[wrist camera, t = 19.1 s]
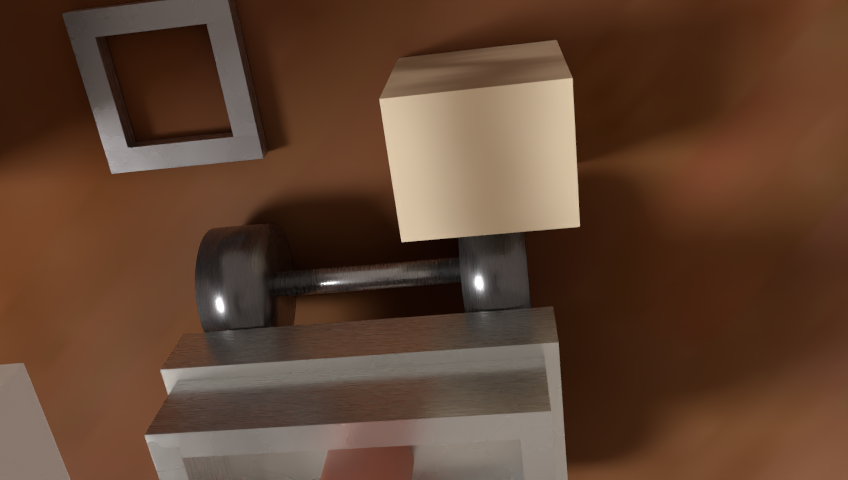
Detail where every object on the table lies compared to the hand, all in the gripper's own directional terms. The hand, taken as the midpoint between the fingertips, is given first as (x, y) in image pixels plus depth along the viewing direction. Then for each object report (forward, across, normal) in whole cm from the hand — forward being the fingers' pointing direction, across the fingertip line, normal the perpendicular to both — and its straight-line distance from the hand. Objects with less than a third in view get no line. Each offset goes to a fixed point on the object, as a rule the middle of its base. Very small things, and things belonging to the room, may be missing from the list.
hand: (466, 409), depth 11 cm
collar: (+21, -12, +1) cm, 24 cm away
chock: (+21, 0, -2) cm, 21 cm away
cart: (+21, -5, -12) cm, 24 cm away
